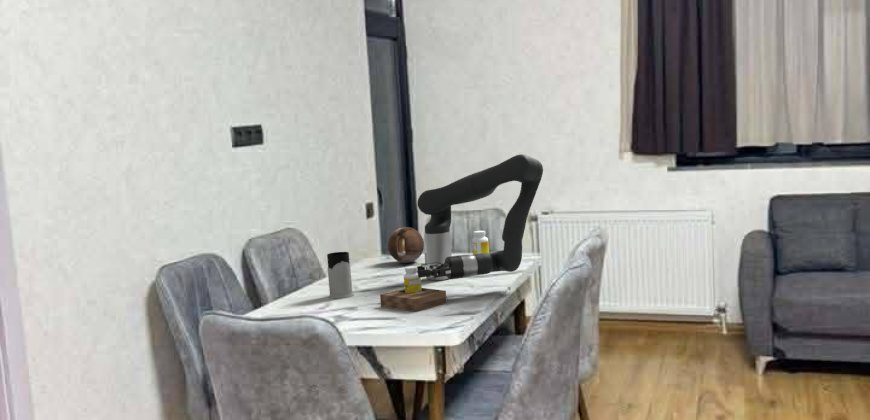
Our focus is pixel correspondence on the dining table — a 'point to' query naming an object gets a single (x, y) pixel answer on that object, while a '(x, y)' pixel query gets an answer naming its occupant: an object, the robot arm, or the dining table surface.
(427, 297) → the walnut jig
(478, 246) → the supplement bottle
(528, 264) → the dining table surface
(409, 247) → the wooden sphere
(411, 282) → the supplement bottle
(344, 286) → the glass holder
